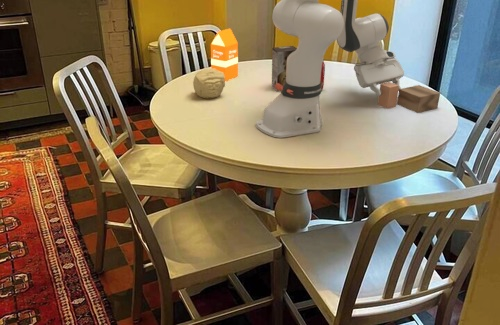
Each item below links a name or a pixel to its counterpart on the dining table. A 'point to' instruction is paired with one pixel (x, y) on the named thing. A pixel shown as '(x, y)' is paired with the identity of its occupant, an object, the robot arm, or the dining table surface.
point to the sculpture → (209, 83)
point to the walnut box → (418, 98)
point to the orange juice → (225, 54)
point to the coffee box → (280, 64)
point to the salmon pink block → (388, 95)
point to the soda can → (322, 74)
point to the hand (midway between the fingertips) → (389, 93)
